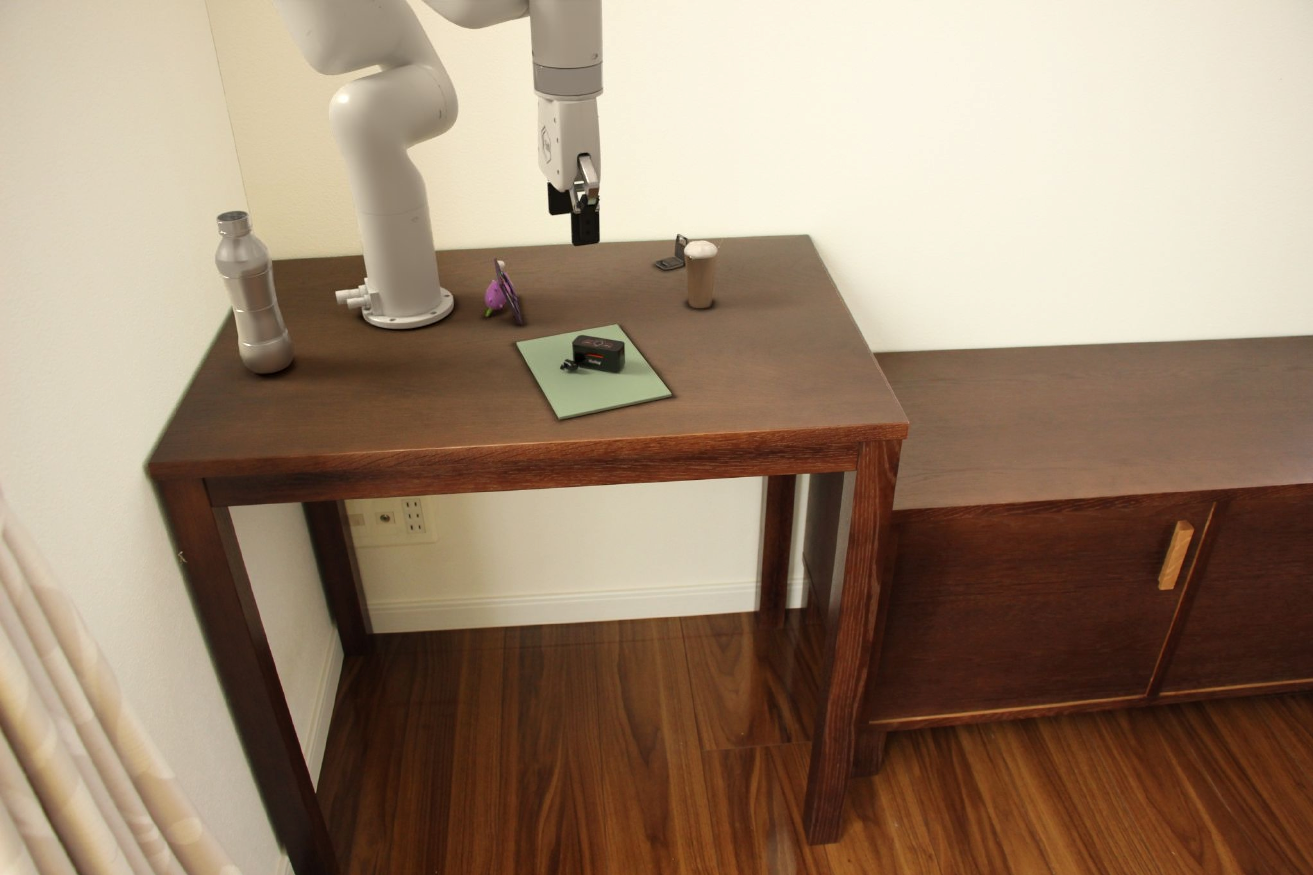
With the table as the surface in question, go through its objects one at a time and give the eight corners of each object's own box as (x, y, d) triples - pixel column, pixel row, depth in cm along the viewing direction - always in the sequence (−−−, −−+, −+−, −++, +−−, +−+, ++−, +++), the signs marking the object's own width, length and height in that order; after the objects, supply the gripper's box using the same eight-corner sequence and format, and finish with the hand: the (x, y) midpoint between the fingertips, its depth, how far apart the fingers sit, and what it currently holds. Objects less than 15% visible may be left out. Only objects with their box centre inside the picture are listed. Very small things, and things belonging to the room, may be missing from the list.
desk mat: (559, 420, 114) (559, 417, 114) (516, 344, 130) (516, 342, 130) (671, 396, 118) (671, 393, 118) (617, 326, 134) (617, 323, 134)
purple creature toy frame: (506, 281, 130) (501, 255, 138) (470, 296, 131) (467, 270, 138) (527, 322, 134) (521, 295, 142) (492, 337, 134) (488, 309, 142)
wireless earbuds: (574, 356, 126) (573, 333, 124) (626, 364, 124) (626, 341, 122) (559, 372, 123) (557, 349, 121) (612, 382, 120) (611, 358, 119)
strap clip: (699, 252, 155) (699, 226, 153) (710, 258, 153) (711, 232, 151) (653, 264, 151) (653, 238, 149) (664, 271, 149) (664, 244, 147)
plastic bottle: (248, 384, 122) (206, 230, 111) (240, 361, 127) (199, 212, 116) (302, 372, 124) (266, 220, 113) (292, 350, 129) (256, 202, 118)
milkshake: (719, 312, 137) (720, 244, 132) (681, 309, 138) (681, 242, 133) (723, 298, 141) (725, 232, 135) (686, 295, 142) (687, 229, 136)
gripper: (514, 61, 112) (524, 206, 121) (556, 102, 98) (563, 261, 108) (578, 57, 114) (582, 199, 124) (627, 96, 101) (627, 252, 110)
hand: (573, 228), depth 116 cm, fingers open, 9 cm apart
